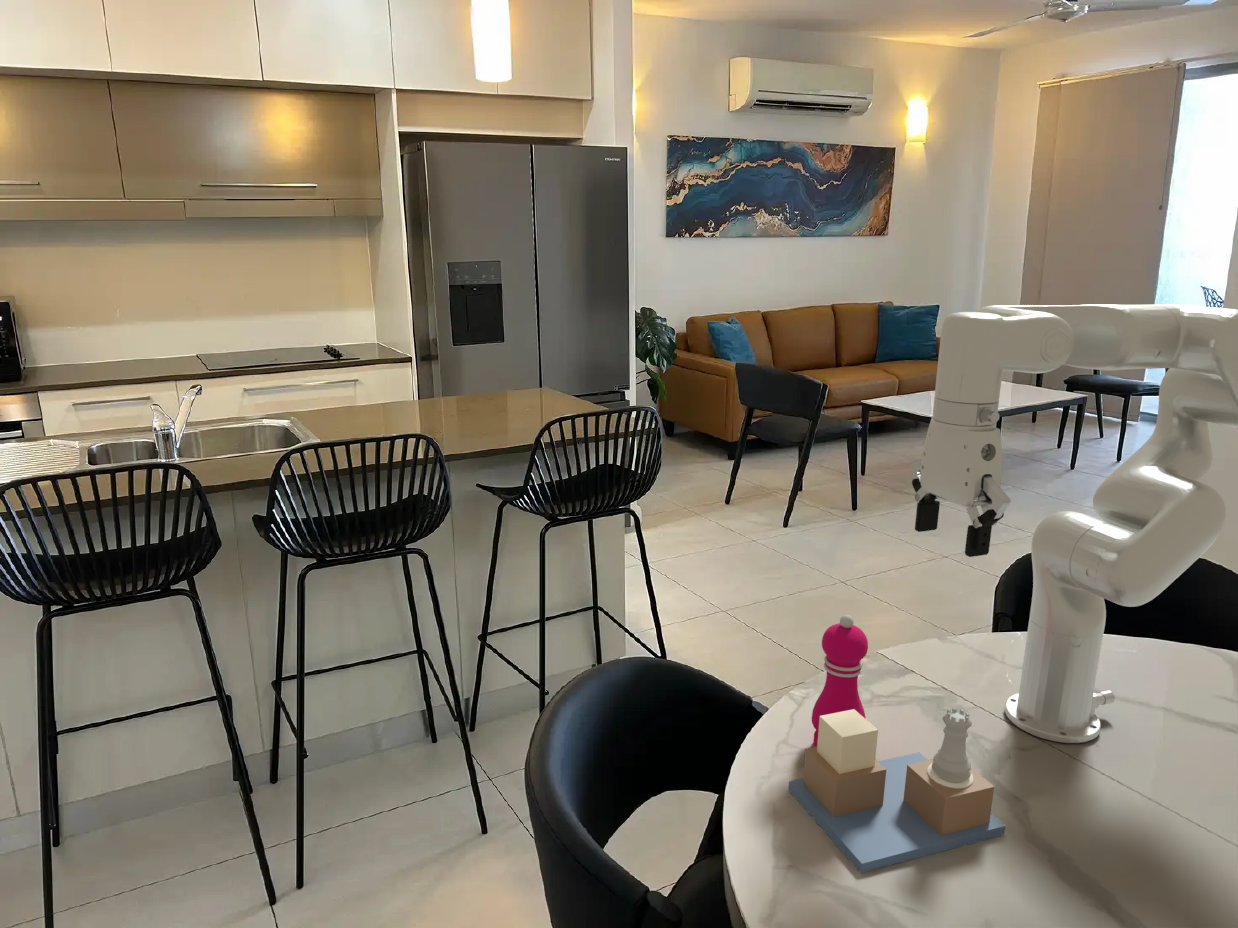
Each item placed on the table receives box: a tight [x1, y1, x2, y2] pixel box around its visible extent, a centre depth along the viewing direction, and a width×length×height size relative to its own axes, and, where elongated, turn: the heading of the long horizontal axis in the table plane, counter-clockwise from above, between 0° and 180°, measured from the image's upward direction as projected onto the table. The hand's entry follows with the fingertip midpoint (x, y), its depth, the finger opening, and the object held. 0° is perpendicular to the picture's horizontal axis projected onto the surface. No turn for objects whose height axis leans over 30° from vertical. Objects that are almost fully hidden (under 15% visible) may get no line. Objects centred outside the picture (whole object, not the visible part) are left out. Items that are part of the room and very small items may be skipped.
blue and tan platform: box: [787, 709, 1006, 874], centre depth 107 cm, size 20×16×11 cm
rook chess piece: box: [932, 707, 973, 783], centre depth 105 cm, size 4×4×8 cm
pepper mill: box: [811, 614, 869, 747], centre depth 119 cm, size 7×7×20 cm
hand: (950, 542), depth 114 cm, fingers open, 9 cm apart
